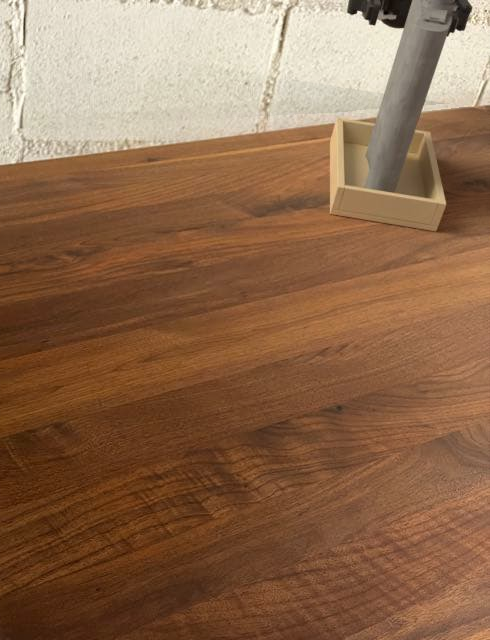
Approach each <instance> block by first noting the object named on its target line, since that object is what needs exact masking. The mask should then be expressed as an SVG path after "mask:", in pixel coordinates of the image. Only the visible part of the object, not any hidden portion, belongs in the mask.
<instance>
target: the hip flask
mask: <svg viewBox="0 0 490 640" xmlns="http://www.w3.org/2000/svg"><path fill="white" fill-rule="evenodd" d="M455 4H456V1H455V0H412V3H411V7H410V10H409V13H408V17H407V20H406V23H405V26H404V28H403V31H402V32H401V37H400V40H399V43H398V47H397V49H396V53H395V56H394V59H393V62H392V66H391V70H390V72H389V75H388V79H387V83H386V86H385V89H384V93H383V96H382V99H381V103H380V104H379V105H380V106H379V108H378V112H377V116H376V118H375V122H374V123H375V125H374V129H373V132H372V135H371V138H370V142H369V145H368V148H367V152H366V155H365V156H366V158H367V161H368V164H369V172H368V176H367V179H366V182H365V185H364V188H366V189H372V190H379V191H385V192H391V193H394V192H395V189H396V186H397V183H398V180H399V177H400V174H401V171H402V168H403V165H404V162H405V159H406V156H407V153H408V150H409V147H410V144H411V141H412V138H413V135H414V132H415V130H417V126H418V123H419V120H420V117H421V114H422V111H423V108H424V105H425V102H426V100H427V96H428V93H429V91H430V87H431V85H432V82H433V79H434V75H435V72H436V70H437V67H438V64H439V60H440V57H441V55H442V52H443V49H444V46H445V43H446V39H447V34H448V31H449V28H450V25H451V22H452V11H453V10H454V7H455Z"/></svg>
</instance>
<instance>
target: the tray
mask: <svg viewBox="0 0 490 640" xmlns="http://www.w3.org/2000/svg"><path fill="white" fill-rule="evenodd" d="M374 125H375V122H374V123H373V122H368V121H362V120H355V119H348V118H342V117H336V118H335V122H334V126H333V130H332V132H331V137H330V141H329V214H330V215H333V216H340V217H345V218H346V217H347V218H350V219H351V218H352V219H358V220H364V221H369V222H374V223H375V222H376V223H380V224H381V223H382V224H388V225H393V226H400V227H406V228H413V229H418V230H424V231H430V232H437V230H438V227H439V225H440V223H441V220H442V217H443V214H444V212H445V209H446V207H447V201H446V197H445V192H444V186H443V183H442V179H441V174H440V169H439V164H438V160H437V156H436V152H435V147H434V142H433V139H432V134H431V132H430V131H426V130H419V129H415V132H414V135H413V138H412V141H411V144H410V147H409V150H408V153H407V156H406V159H405V162H404V165H403V168H402V171H401V174H400V177H399V180H398V183H397V186H396V189H395V192H394V193H391V192H385V191H379V190H372V189H366V188H364V185H365V182H366V179H367V176H368V172H369V164H368V161H367V158H366V156H365V155H366V152H367V148H368V145H369V142H370V138H371V135H372V132H373V129H374Z"/></svg>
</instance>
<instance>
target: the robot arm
mask: <svg viewBox="0 0 490 640" xmlns="http://www.w3.org/2000/svg"><path fill="white" fill-rule="evenodd" d="M455 1H456V4H455V7H454V10H453V11H452V22H451V25H450V28H449V31H448V34H447V37H449V36H450V34H454V33H455V32H456V31H458V32H463V31H465V30H466V28H467V24H468V20H469V18H470V15H471V13H472V10H473V6H472V5H471V2H470V1H469V0H455ZM347 3H348V4H347V9H346V14H349V15H351V16H354V15H357V14H358V12H360V13H361V17H363V19H364V20H365V21H368V25H369V26H376V24H377V21H380V22H381V23H383V24H384V25H385V26H387V27H388V28H393V29H398V30H399V29H400V30H401V29H404V26H405V23H406V20H407V17H408V13H409V10H410V7H411V3H412V0H348V2H347ZM447 37H446V38H447Z"/></svg>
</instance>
